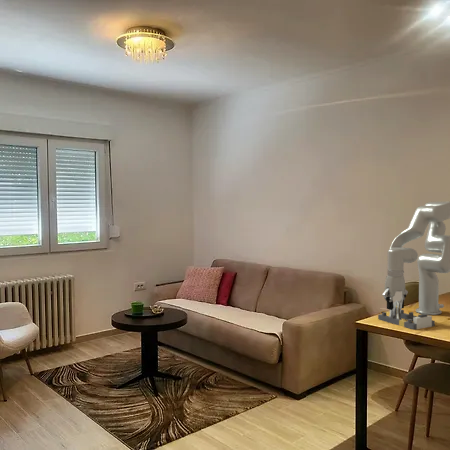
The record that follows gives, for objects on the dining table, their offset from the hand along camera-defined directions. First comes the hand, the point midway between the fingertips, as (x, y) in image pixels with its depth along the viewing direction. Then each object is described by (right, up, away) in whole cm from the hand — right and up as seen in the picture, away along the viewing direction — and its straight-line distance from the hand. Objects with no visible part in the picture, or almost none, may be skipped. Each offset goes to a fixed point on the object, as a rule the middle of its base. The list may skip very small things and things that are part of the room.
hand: (395, 308), depth 226 cm
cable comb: (+3, -6, -6) cm, 9 cm away
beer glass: (0, -6, 0) cm, 6 cm away
